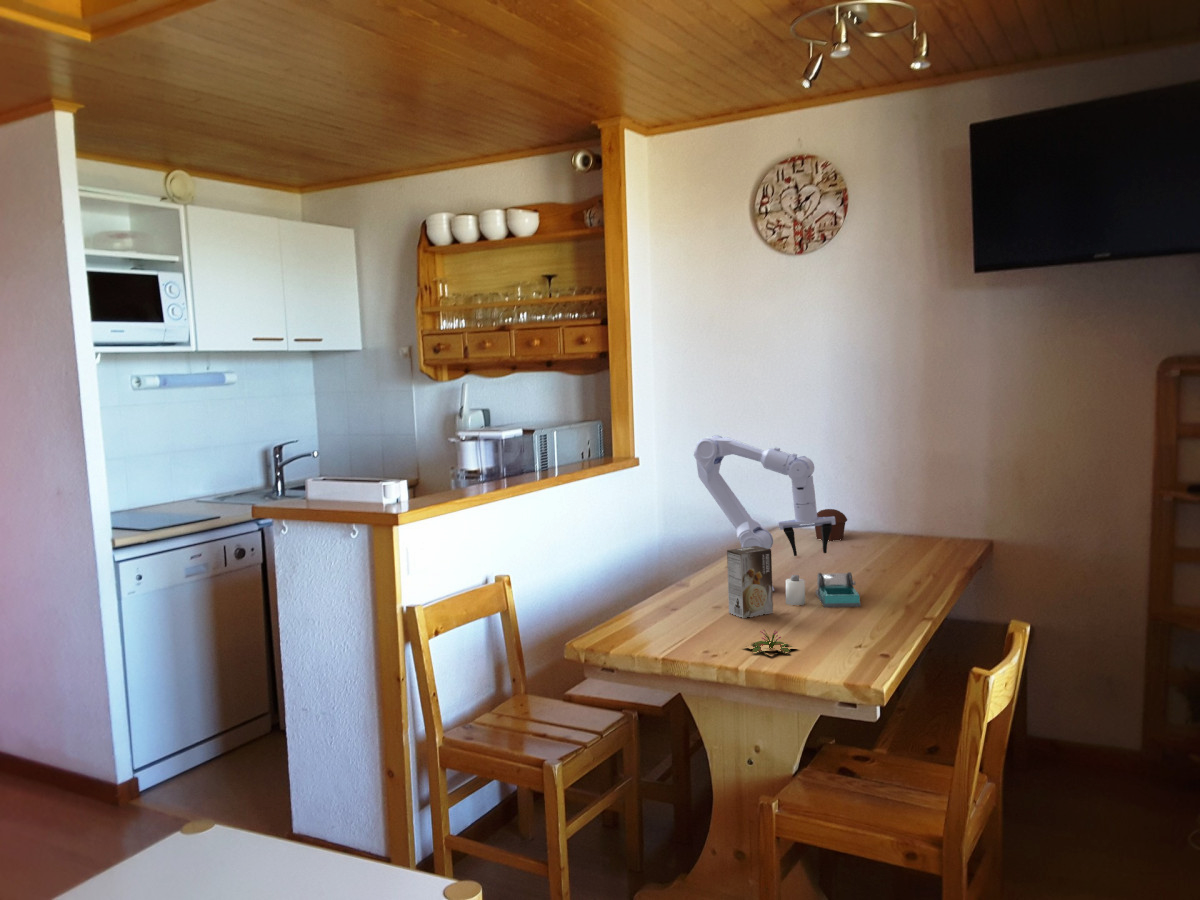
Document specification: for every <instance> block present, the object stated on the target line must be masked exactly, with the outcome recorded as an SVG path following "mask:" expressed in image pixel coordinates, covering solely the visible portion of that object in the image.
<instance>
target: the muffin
mask: <svg viewBox="0 0 1200 900" xmlns="http://www.w3.org/2000/svg"><path fill="white" fill-rule="evenodd" d="M833 516H834V517H835V523H836V524H835V525H831V526H832V530H831V533H830V535H829V539H828V540H829V541H828V542H830V541H831V542H834V541H833V540H840V539H843V540H844V535H845V534H844V533H845V527H846V522H847V521H848V518H847V516H846V515H845V514H844V513H843V512H842V511H840V510H838V509H833V508H826V509H820V510H819V511H817V517H833ZM814 531H815V537H817V538H816V540H817V539H821V540H822V532H821V526H814ZM821 540H820V541H821ZM840 541H841V540H840Z"/></svg>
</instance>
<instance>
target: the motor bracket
mask: <svg viewBox="0 0 1200 900" xmlns="http://www.w3.org/2000/svg"><path fill="white" fill-rule="evenodd" d="M816 583H817V584H816V585H817V589H815V595H816V597H817V596H818V597H817V599H818V600H819V601H821V602H820V603H821V605H822V604H823V605H822V607H823V606H824V607H823V608H861V607H862V604H861V600H860V598H861V597H860V594H859V592H858V591H857V590H856V589H855V587H854V586H855V585H856V580H853V575H852V572H850V571H849V572H844V573H843V572H842V573H841V572H838V573H837V572H835V573H833V572H832V573H831V572H830V573H822V572H818V573H817V582H816Z"/></svg>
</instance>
